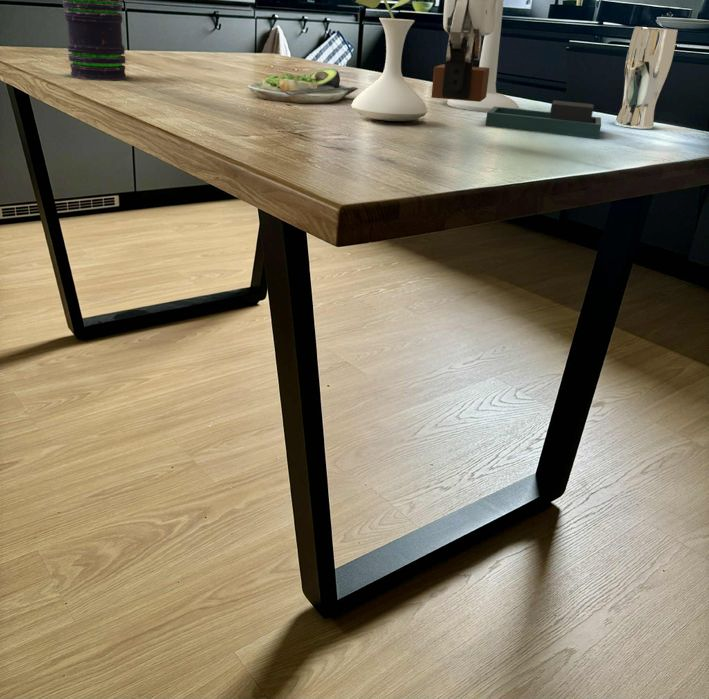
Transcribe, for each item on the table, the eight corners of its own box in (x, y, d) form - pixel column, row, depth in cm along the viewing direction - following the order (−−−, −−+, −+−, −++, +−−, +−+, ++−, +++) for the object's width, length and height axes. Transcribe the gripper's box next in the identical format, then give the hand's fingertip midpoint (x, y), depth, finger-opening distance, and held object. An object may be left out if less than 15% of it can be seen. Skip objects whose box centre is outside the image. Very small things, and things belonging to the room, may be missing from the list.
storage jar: (83, 80, 126) (74, -15, 119) (61, 73, 132) (51, -17, 126) (136, 79, 132) (130, -11, 125) (113, 73, 138) (106, -13, 132)
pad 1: (486, 97, 90) (489, 67, 88) (480, 101, 86) (484, 70, 84) (439, 93, 91) (442, 64, 90) (431, 97, 87) (434, 66, 85)
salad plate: (338, 109, 114) (339, 78, 112) (231, 99, 116) (231, 68, 114) (361, 97, 131) (363, 70, 129) (268, 88, 134) (268, 61, 132)
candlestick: (444, 108, 125) (468, -93, 112) (449, 99, 136) (470, -84, 123) (519, 114, 123) (551, -89, 110) (517, 105, 134) (546, -79, 121)
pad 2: (588, 128, 111) (593, 104, 109) (588, 132, 106) (593, 107, 105) (549, 123, 112) (553, 100, 110) (547, 127, 108) (551, 103, 106)
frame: (598, 130, 112) (601, 117, 111) (598, 138, 105) (601, 124, 104) (492, 119, 116) (494, 106, 115) (485, 126, 108) (487, 112, 108)
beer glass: (656, 131, 116) (680, 30, 109) (611, 126, 118) (633, 26, 111) (654, 125, 122) (677, 29, 115) (612, 121, 124) (632, 26, 117)
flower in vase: (439, 121, 109) (461, -67, 98) (401, 129, 100) (420, -77, 90) (368, 110, 115) (381, -68, 104) (326, 116, 107) (335, -78, 96)
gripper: (502, -84, 72) (479, 105, 80) (518, -67, 87) (498, 91, 95) (429, -85, 74) (414, 100, 82) (457, -69, 89) (442, 86, 97)
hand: (459, 93), depth 88 cm, fingers closed on pad 1, 5 cm apart
